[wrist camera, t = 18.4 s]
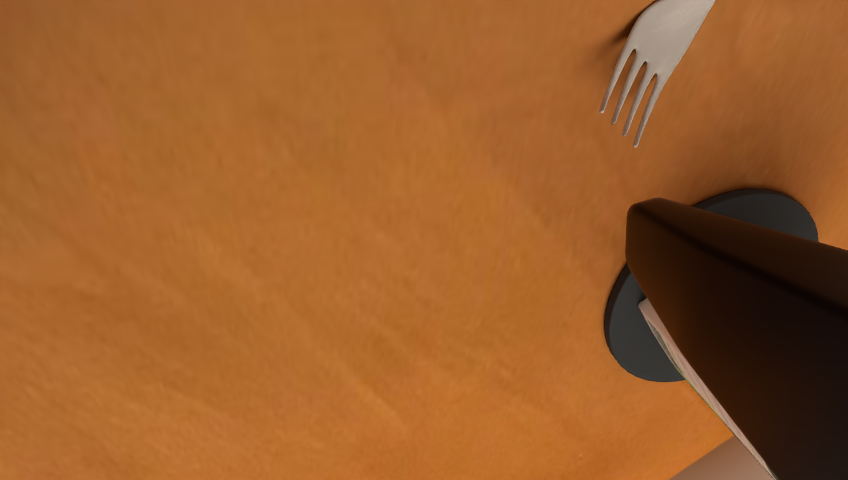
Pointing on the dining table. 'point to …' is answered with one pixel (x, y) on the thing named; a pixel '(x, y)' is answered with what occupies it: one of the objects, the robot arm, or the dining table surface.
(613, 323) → the coaster
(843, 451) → the robot arm
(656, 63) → the fork
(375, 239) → the dining table surface
